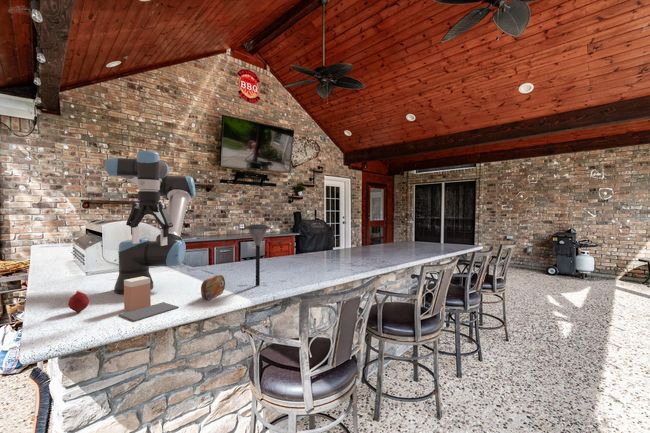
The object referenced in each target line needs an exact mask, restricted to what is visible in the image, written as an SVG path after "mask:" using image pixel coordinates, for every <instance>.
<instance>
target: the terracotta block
mask: <svg viewBox="0 0 650 433" xmlns="http://www.w3.org/2000/svg"><path fill="white" fill-rule="evenodd" d="M123 301H124V302H123V308H124V309H123V310H126V311H127V312H130V311H133V310H137V309H140V308H144V307H148V306H151V305H152V304H151V303H152V302H151V290H150V278H148V277H144V276H142V277H137V278H132V279H126V280H124V294H123Z"/></svg>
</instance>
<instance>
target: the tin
mask: <svg viewBox="0 0 650 433" xmlns="http://www.w3.org/2000/svg"><path fill="white" fill-rule="evenodd" d="M225 286H226V280H225V278H224V276H223V275H221V274H218V275H214V276H211V277H208V278H207V279H204V280H203V282H202V284H201V286H200V294H201V298H203V300H204V299H205V300H213V299H215V298H216V297H218V296H220V295H221V294H223V292H224V290H225ZM212 298H213V299H212Z"/></svg>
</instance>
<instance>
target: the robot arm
mask: <svg viewBox="0 0 650 433" xmlns="http://www.w3.org/2000/svg"><path fill="white" fill-rule="evenodd" d="M104 164H105V165H104V166H105V172H106V174H108V176H111V177H121V178H123V179H126V180H128V181H129V182H131V183H132V184H135V185H136V186H137V190H138V192H137V200H138V202H132V206H131V209H130V210H131V211H130V213H129V216H128V218H127V221H126V226H128V227H130V233H131V238H132V239H128V240H123V241H121V242H120V243H119V244H118V250H117V251H118V252H117V253H118V276H117V280H115V281H116V282H115V285H114V294H117V295H118V294H120V295H124V280H126V279H132V278H137V277H142V276H144V277H148V278H150V291H151V290H153V288H154V281H153V278H152V275H151V273H150V267H173V266H179V265H181V263H183V261H184V258H185V256H186V247H187V245H186V242H185V241H184V239H183V238H182V237H181V235H182V232H183V231H182V230H183V224H184V220H185V215H186V212H187V211H186V210H187V204H188V203H190V202H191V199H193V198H196V187H195V186H196V184H195V180H194V178H193V177H191V176H187V175H183V176H179V175H177V176H176V175H168V174H169V173H170V168H169V165H168V164H167V163H166V162H165V161H163V160H161V159H160V154H159V153H158V151H153V150H138V151H137V155H136V158H127V157H126V158H125V157H110V158H107V159H106V161H105V163H104ZM161 197H162V198H167V199H168V204H166V203H163V202H162V203H159V201H161ZM146 215H150V216H153V217H154V219H156V222H157V223H158V225H160V227H161V228H160V232H159V234H158V235H157V236H156V237H155V238H156V239H155V240H150V239H149V237H141V238H140V226H139V224H140V223H141V221H142V220H143V219H144V217H145V216H146Z"/></svg>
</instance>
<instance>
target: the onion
mask: <svg viewBox="0 0 650 433" xmlns="http://www.w3.org/2000/svg"><path fill="white" fill-rule="evenodd" d="M89 304H90V298H89V296H88V295H87V294H85V293H84V292H81V291H80V290H76V292H75V293H74V294H73V295H72V296H71V297H70V298H69V300H68V307H69V309H70V310H72V311H74V312H75V313H77V314H78V313H81V312H82V311H84V310H86V309H87V308H88V306H89Z"/></svg>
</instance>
